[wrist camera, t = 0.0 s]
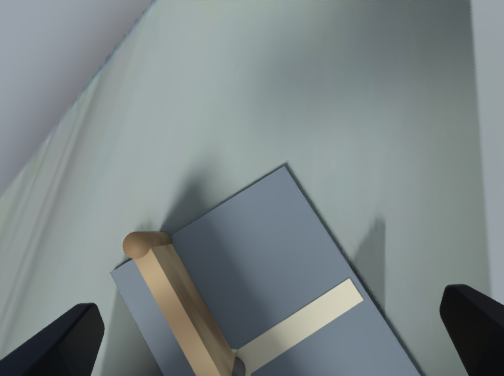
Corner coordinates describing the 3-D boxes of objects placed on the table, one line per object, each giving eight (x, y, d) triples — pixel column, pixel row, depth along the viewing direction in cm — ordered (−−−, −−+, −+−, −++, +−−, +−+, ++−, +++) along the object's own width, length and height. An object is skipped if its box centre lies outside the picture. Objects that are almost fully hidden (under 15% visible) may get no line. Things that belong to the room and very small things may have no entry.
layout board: (437, 404, 21) (442, 408, 20) (249, 533, 20) (249, 541, 19) (283, 166, 23) (284, 165, 23) (112, 271, 22) (109, 272, 22)
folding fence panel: (250, 374, 21) (247, 415, 16) (228, 388, 21) (219, 434, 16) (166, 226, 22) (142, 225, 18) (146, 239, 22) (116, 241, 18)
